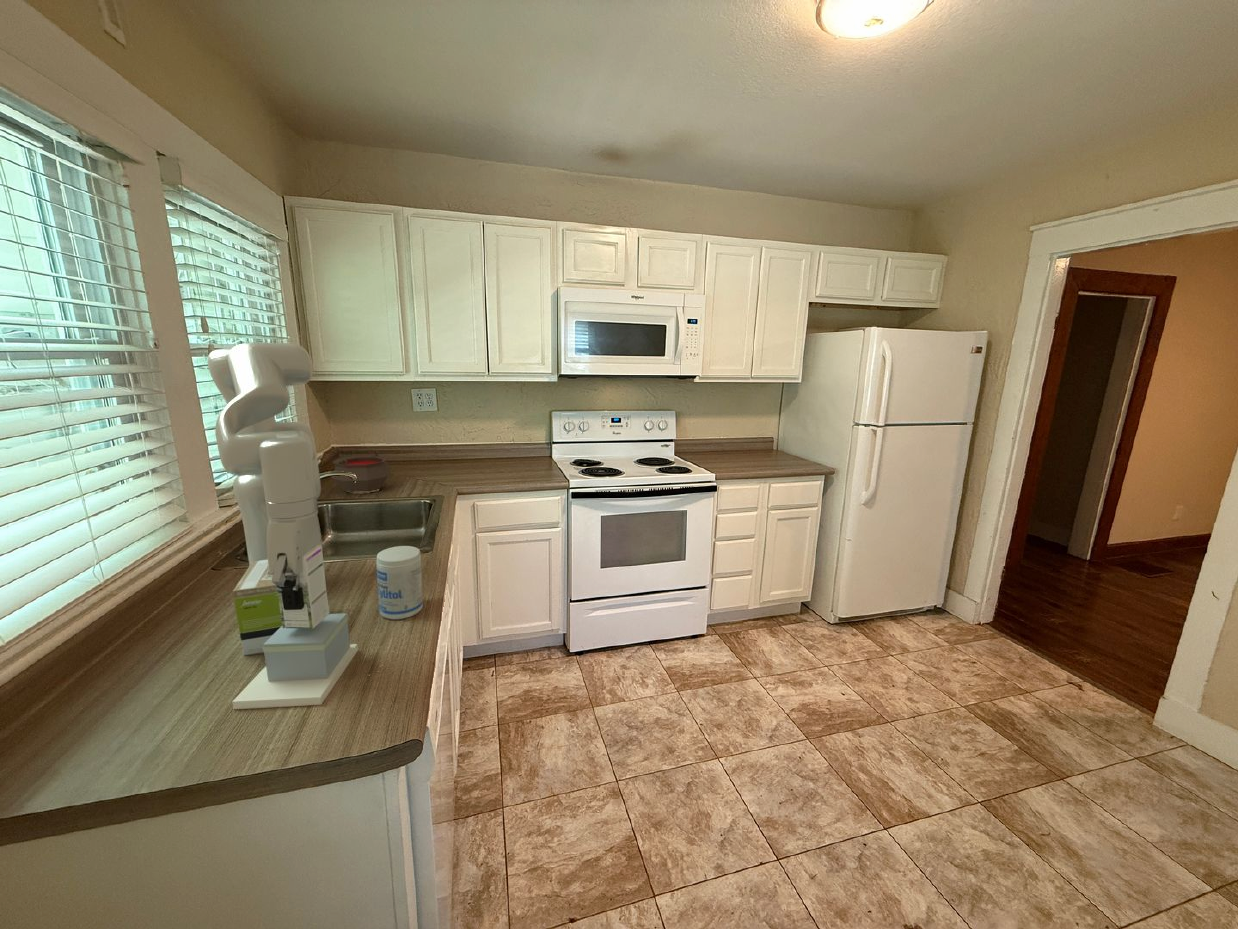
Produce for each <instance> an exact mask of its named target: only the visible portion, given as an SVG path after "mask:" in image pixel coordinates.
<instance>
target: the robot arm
mask: <svg viewBox="0 0 1238 929" xmlns="http://www.w3.org/2000/svg"><path fill="white" fill-rule="evenodd" d="M207 366H208V370H209V373H210V376H211V378H212V381H213V382H214V385H215V386H216V388H217V389H218V391H219V392H220V394H221V395H222V397H223V399H224V400H225V402H226V405H225V406H224V407H223V408H222V409H221V411H220V413H219V414H218V416H217V418H216V422H215V427H214V428H215V430H214V432H215V433H214V434H215V439H216V446H217V449H218V455H219V459H220V463H221V464H222V467H223V468H224V470H225V471H226V472H227V473H229V474H230V475H232V476H236V477H235V478H234V480H233V483H232V484H233V485H232V487H233V493H234V496H235V500H236V502H237V505H238V508H239V512H240V515H241V520H242V525H243V531H244V537H245V543H246V544H245V545H246V551H247V552H246V553H247V558H248V563H249V566H250V565H251V564H252V562H253V561H260V560H268V568H269V573H270V574H271V575H273V577H272V583H274V584H275V585H277V587H278V588H279V590H280V591H281V593H282V600H283V608H284V610H301V609H303V608H304V601H303V592H302V588H299V584H300V576H299V573H301V572H302V571H303V560H302V558H303V556H304V555H306V554H307V553H308V552H309V551H310V550H311V549H312V548H314V547H315V546H317V545H321V546H322V548H324V547H323V540H322V533H321V528H320V522H319V517H318V514H319V508H318V498H319V497H320V495H321V492H322V491H321V490H322V486H321V483H322V482H321V476H320V470H319V468H320V467H319V462H318V455H317V448H316V443H315V442H316V441H315V436H314V434H313V431H312V430H311V428H310V426H309V425H308V424H306V423H304V422H298V421H288V422H287V421H285V422H278V421H277V420H276V417H275V416H277V415H279V414H281V413H282V412H284V411H285V410H286V409H287V408H288V407H289V404H290V403H291V395H290V393H289V389H288V387H289V386H290V387H291V386H292V387H293V386H295V387H296V386H301V385H305V384H308V383H309V382H310V381H311V380H312V377H313V373H314V371H313V370H314V369H313V368H314V366H313V361H312V359H311V356H310V354H309V353H308V351H307V350H306V348H304V347H303V346H301V345H299V344H297V343H282V342H257V341H256V342H255V341H253V342H242V343H239V344H236V345H235V346H233V347H226V348H218V349H214V350H212V351H211V352H210V353H209V354H208V355H207ZM287 386H288V387H287ZM249 566H248V567H249ZM289 568H291V569H293V572H286V569H289ZM287 576H294V577H293V582H292V581H291V580H287Z"/></svg>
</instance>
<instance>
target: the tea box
mask: <svg viewBox="0 0 1238 929" xmlns="http://www.w3.org/2000/svg"><path fill="white" fill-rule="evenodd" d="M272 577H273V575H271V574H270V573H269V568H268V560H260V561H253V562H252V564H251V565H250V566H248V568H247V569H246V570H245V572H244V574H243V575H242V577H241V578H240V579H239V581H238V583H236V585H235V587H234V589H233V590H232V599H233V604H234V610H235V616H236V622H237V626H238V627H237V628H238V633H239V638H240V644H241V650H242V654H243V656H251V655H256V654H264V652H263V648H262V647H263V644H264V643H265V642H266V641H267V640H268V639H269V638H270V637H271V636H272V635H273V634H274V633H275V632H276V631H277V630H278V629H279V628H280V627H281V626H282V620H281V613H280V606H279V599H278V591H277V585H275V584H274V583H272Z"/></svg>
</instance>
